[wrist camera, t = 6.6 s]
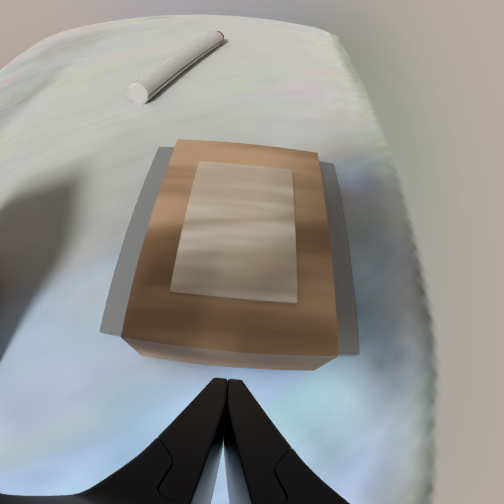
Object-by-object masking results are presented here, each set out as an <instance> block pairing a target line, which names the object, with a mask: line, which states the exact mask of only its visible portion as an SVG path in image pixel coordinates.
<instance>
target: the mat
mask: <svg viewBox="0 0 504 504" xmlns="http://www.w3.org/2000/svg"><path fill="white" fill-rule="evenodd" d="M174 148H175V147H159V148H158V151H157V153H156V155H155V158H154V160H153V162H152V165H151V167H150V170H149V172H148V175H147V177H146V180H145V182H144V185H143V188H142V190H141V193H140V196H139V198H138V201H137V204H136V206H135V209H134V212H133V215H132V218H131V221H130V224H129V227H128V230H127V233H126V236H125V239H124V242H123V245H122V248H121V252H120V255H119V258H118V262H117V265H116V268H115V272H114V276H113V279H112V283H111V287H110V290H109V294H108V298H107V302H106V306H105V310H104V315H103V319H102V324H101V328H100V332H101V333H105V334H110V335H115V336H121V333H122V328H123V323H124V318H125V314H126V309H127V304H128V300H129V296H130V291H131V287H132V283H133V279H134V275H135V271H136V267H137V263H138V259H139V256H140V252H141V248H142V245H143V241H144V238H145V234H146V231H147V227H148V224H149V221H150V217H151V214H152V211H153V208H154V205H155V202H156V199H157V196H158V192H159V189H160V187H161V184H162V181H163V178H164V175H165V172H166V169H167V166H168V164H169V161H170V158H171V156H172V153H173V150H174ZM319 165H320V172H321V178H322V185H323V191H324V198H325V206H326V213H327V221H328V229H329V237H330V246H331V256H332V266H333V277H334V288H335V301H336V316H337V334H338V355H358V354H359V341H358V327H357V315H356V305H355V295H354V286H353V277H352V269H351V262H350V254H349V247H348V240H347V234H346V228H345V221H344V215H343V210H342V204H341V199H340V193H339V188H338V183H337V178H336V173H335V168H334V164H332V163H326V162H320V161H319Z"/></svg>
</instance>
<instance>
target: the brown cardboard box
mask: <svg viewBox="0 0 504 504" xmlns="http://www.w3.org/2000/svg"><path fill="white" fill-rule="evenodd" d="M121 338H122V339H123V340H125V341H126V342H127V343H128V344H129V345H130V346H131V347H133V348H134V349H135V350H136V351H137V352H138V353H139V354H141V355H142V356H147V357H154V358H160V359H167V360H174V361H181V362H189V363H198V364H207V365H217V366H228V367H240V368H255V369H276V370H315V369H317V368H319V367H321V366H322V365H324V364H326V363H327V362H329V361H331V360H332V359H334V358H336V357H337V356H338V334H337V316H336V301H335V288H334V277H333V266H332V256H331V246H330V237H329V229H328V221H327V213H326V206H325V198H324V191H323V185H322V178H321V172H320V165H319V159H318V154H317V153H314V152H308V151H301V150H294V149H286V148H279V147H270V146H262V145H252V144H242V143H230V142H217V141H202V140H180V139H178V140H177V142H176V145H175V148H174V150H173V153H172V156H171V158H170V161H169V164H168V166H167V169H166V172H165V175H164V178H163V181H162V184H161V187H160V189H159V192H158V196H157V199H156V202H155V205H154V208H153V211H152V214H151V217H150V221H149V224H148V227H147V231H146V234H145V238H144V241H143V245H142V248H141V252H140V256H139V259H138V263H137V267H136V271H135V275H134V279H133V283H132V287H131V291H130V296H129V300H128V304H127V309H126V314H125V318H124V323H123V328H122V333H121Z"/></svg>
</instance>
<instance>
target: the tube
mask: <svg viewBox="0 0 504 504" xmlns="http://www.w3.org/2000/svg"><path fill="white" fill-rule="evenodd" d="M223 38H224V35H223V34H222V33H221V32H220V31H212V32H210V33H208V34H206V35H204V36H202V37H201V38H199V39H197V40H196V41H194V42H192V43H191V44H189V45H187V46H186V47H184V48H183V49H181V50H179V51H178V52H176V53H175V54H173V55H172V56H170V57H169V58H167V59H166V60H164V61H163V62H161V63H160V64H158V65H157V66H155V67H154V68H153V69H151V70H150V71H148V72H147V73H146V74H144V75H143V76H142V77H140V78H139V79H138V80H136V81H135V82H134V83H132V84H131V85H130V86H129V87H128V90H127V94H128V97H129V99H130V100H131V101H132V102H133V103H135V104H145V103H146V102H148V101H149V100H150V99H151V98H153V96H155V95H156V94H157V93H158V92H159V91H161V89H163V87H166V85H168V84H169V83H170V82H171V81H173V79H175V78H176V77H178V75H180V74H181V73H182V72H183V71H184V70H186V69H187V68H188V67H189V66H191V65H192V64H193V63H195V62H196V61H197V60H199V59H200V58H201V57H203V56H204V55H206V54H207V53H208V52H210V51H211V50H213V49H214V48H215V47H217V46H218V45H220V44H221V43H222V41H223Z"/></svg>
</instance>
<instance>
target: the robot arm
mask: <svg viewBox="0 0 504 504" xmlns="http://www.w3.org/2000/svg"><path fill="white" fill-rule="evenodd" d="M227 383H228V385H227ZM224 427H225V428H224ZM223 441H224V456H225V466H226V476H227V485H228V493H229V502H230V504H350V503H348V502H347V501H346V500H345V499H344V498H342V497H341V496H340V495H339V494H337V493H336V492H335V491H334V490H333V489H332V488H330V487H329V486H328V485H327V484H326V483H325V482H323V481H322V480H321V479H320V478H319V477H318V476H317V475H316V474H315V473H314V472H313V471H312V470H311V469H310V468H309V467H308V466H307V465H306V464H305V463H304V462H303V460H302V459H301V458H300V457H299V456H298V455H297V453H296V452H295V451H294V449H292V448H291V446H290V445H289V443H288V442H287V441H286V439H285V438H284V437H283V436H282V434H281V433H280V432H279V430H278V429H277V428H276V426H275V425H274V424H273V423H272V421H271V420H270V419H269V417H268V416H267V414H266V413H265V412H264V410H263V409H262V408H261V406H260V405H259V404H258V402H257V401H256V399H255V398H254V397H253V395H252V394H251V392H250V391H249V390H248V388H247V387H246V385H245V384H244V383H243V381H242V380H236V379H229V380H227V379H224V378H213V379H212V380H211V381H210V383H209V384H208V385H207V386H206V387H205V388H204V389H203V390H202V391H201V392H200V393H199V394H198V396H197V397H196V398H195V399H194V400H193V401H192V402H191V403H190V404H189V405H188V406H187V407H186V408H185V409H184V410H183V411H182V412H181V414H180V415H179V416H178V417H177V418H176V419H175V420H174V421H173V422H172V423H171V424H170V425H169V426H168V427H167V428H166V429H165V430H164V431H163V432H162V433H161V434H160V435H159V436H158V438H156V439H155V440H154V441H153V442H152V443H151V444H150V445H149V446H148V447H147V448H146V449H145V450H143V451H142V452H141V453H140V454H139V455H138V456H137V457H135V458H134V459H133V460H131V461H130V462H129V463H127V464H126V465H125V466H123V467H122V468H120V469H119V470H117V471H116V472H114V473H113V474H111V475H110V476H108V477H107V478H105V479H104V480H102V481H101V482H99V483H98V484H96V485H95V486H93V487H91V488H90V489H88V490H86V491H83V492H81V493H77V494H73V495H61V496H19V495H7V494H1V493H0V504H211V499H212V495H213V490H214V486H215V481H216V477H217V472H218V468H219V463H220V458H221V454H222V448H223Z"/></svg>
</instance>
